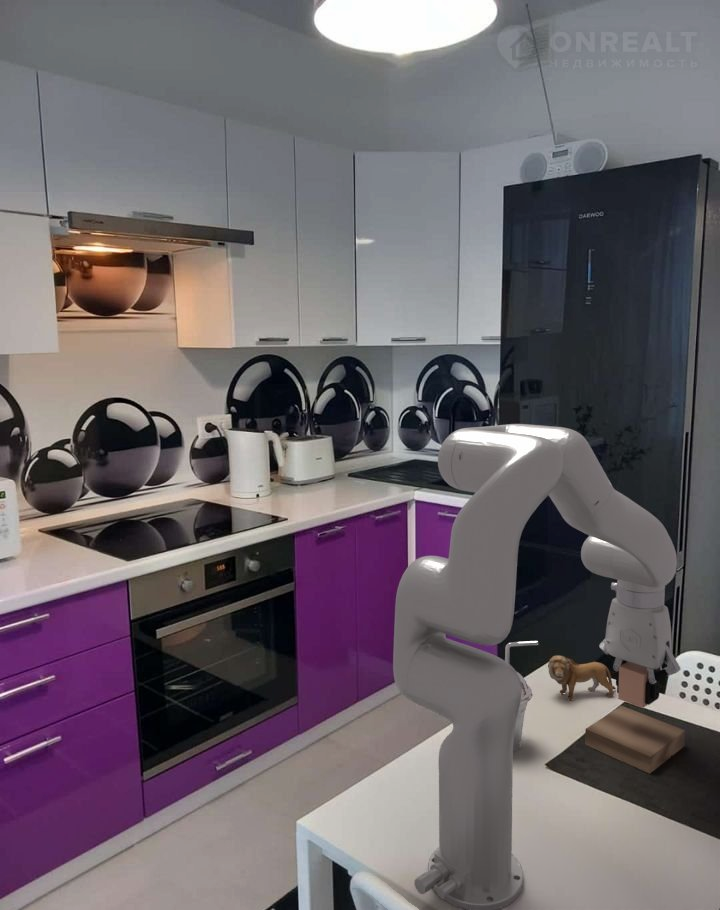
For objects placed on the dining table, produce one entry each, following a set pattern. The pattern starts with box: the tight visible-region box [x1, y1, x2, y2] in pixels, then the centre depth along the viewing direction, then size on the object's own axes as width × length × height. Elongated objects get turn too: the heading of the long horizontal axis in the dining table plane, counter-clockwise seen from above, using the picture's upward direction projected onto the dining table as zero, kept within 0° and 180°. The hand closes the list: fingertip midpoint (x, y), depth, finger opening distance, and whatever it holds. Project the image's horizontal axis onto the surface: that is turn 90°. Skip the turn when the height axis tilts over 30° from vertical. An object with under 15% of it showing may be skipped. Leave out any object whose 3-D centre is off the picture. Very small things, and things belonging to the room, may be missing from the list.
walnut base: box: [584, 705, 686, 775], centre depth 129 cm, size 12×12×3 cm
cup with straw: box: [504, 640, 540, 752], centre depth 129 cm, size 8×9×20 cm
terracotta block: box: [617, 662, 648, 709], centre depth 128 cm, size 4×4×6 cm
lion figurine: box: [547, 654, 617, 701], centre depth 147 cm, size 15×5×9 cm, turn 103°
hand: (637, 695), depth 128 cm, fingers closed on terracotta block, 4 cm apart
